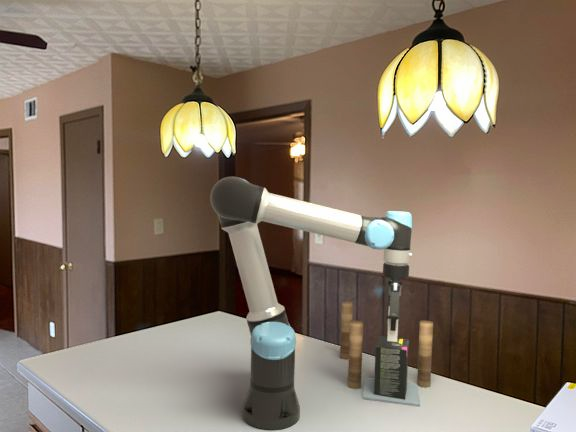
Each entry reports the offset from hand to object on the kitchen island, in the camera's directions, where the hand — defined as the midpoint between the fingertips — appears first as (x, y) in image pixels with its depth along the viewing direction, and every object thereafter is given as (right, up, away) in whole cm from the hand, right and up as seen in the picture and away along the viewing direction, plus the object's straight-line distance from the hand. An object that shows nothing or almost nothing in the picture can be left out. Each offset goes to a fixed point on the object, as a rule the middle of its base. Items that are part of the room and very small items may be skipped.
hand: (392, 333), depth 132 cm
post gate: (-10, -16, +28) cm, 34 cm away
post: (+11, -18, +7) cm, 22 cm away
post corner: (-11, -17, +5) cm, 21 cm away
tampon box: (0, -17, +1) cm, 17 cm away
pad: (0, -18, +1) cm, 18 cm away
